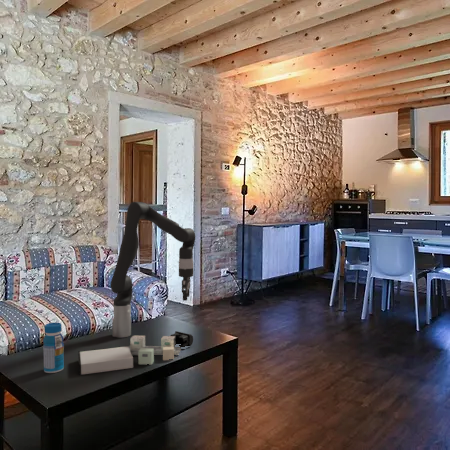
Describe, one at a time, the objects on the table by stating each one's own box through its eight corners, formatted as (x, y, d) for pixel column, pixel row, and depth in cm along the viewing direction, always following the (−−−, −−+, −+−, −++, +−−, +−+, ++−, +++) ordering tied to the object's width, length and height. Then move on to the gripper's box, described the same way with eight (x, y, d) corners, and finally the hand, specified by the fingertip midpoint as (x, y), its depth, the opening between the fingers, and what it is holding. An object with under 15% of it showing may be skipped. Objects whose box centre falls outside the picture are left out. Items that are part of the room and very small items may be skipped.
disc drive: (78, 361, 193) (78, 351, 193) (127, 355, 201) (127, 345, 201) (79, 376, 177) (79, 364, 176) (133, 368, 184) (133, 357, 184)
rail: (124, 354, 201) (124, 338, 200) (129, 349, 208) (129, 334, 207) (178, 356, 199) (178, 340, 199) (180, 351, 206) (180, 335, 206)
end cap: (193, 346, 213) (193, 333, 213) (184, 350, 208) (184, 336, 207) (179, 342, 219) (179, 329, 219) (169, 346, 214) (169, 333, 213)
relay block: (162, 360, 193) (162, 349, 193) (163, 357, 197) (163, 346, 197) (173, 360, 194) (173, 349, 194) (174, 357, 198) (173, 346, 198)
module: (138, 364, 188) (138, 351, 188) (140, 361, 193) (140, 348, 192) (151, 364, 188) (151, 351, 188) (153, 361, 192) (153, 348, 192)
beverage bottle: (42, 374, 177) (41, 327, 176) (44, 367, 185) (43, 322, 184) (63, 372, 179) (62, 326, 179) (65, 365, 187) (64, 321, 187)
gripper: (180, 265, 222) (180, 295, 223) (176, 269, 208) (176, 301, 209) (194, 265, 222) (194, 295, 222) (191, 269, 208) (191, 301, 208)
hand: (186, 298), depth 215 cm, fingers open, 8 cm apart
